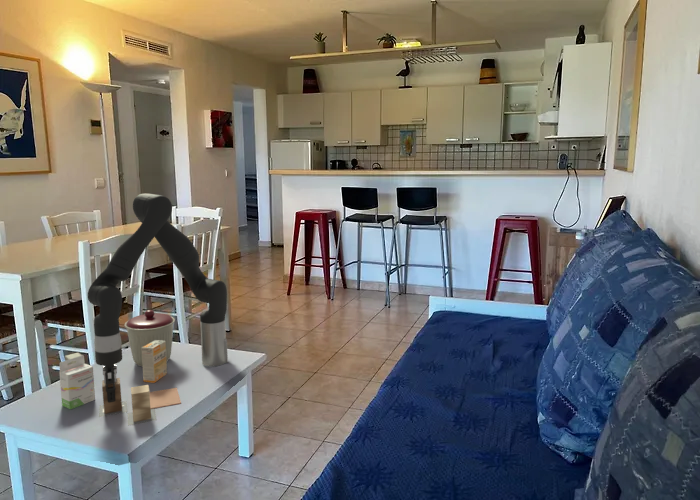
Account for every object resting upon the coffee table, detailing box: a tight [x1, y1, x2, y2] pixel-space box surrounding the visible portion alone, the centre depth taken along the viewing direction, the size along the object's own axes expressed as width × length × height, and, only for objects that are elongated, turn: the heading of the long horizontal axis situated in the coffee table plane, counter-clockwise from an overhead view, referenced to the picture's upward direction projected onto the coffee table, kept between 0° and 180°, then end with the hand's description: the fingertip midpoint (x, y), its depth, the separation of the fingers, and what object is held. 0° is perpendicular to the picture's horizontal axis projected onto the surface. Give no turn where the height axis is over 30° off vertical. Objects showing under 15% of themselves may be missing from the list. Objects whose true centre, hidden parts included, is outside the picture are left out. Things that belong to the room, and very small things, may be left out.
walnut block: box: [101, 377, 123, 414], centre depth 158 cm, size 5×5×9 cm
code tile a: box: [98, 400, 128, 418], centre depth 159 cm, size 8×8×1 cm
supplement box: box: [141, 340, 168, 384], centre depth 181 cm, size 8×5×13 cm, turn 168°
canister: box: [124, 309, 176, 367], centre depth 194 cm, size 18×18×21 cm
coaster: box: [149, 387, 182, 409], centre depth 166 cm, size 12×12×1 cm
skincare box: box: [64, 352, 86, 365], centre depth 171 cm, size 6×4×12 cm
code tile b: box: [126, 408, 158, 426], centre depth 154 cm, size 8×8×1 cm
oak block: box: [130, 384, 151, 422], centre depth 154 cm, size 5×5×9 cm
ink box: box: [58, 354, 96, 410], centre depth 162 cm, size 9×5×15 cm, turn 148°
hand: (111, 395), depth 158 cm, fingers open, 8 cm apart
